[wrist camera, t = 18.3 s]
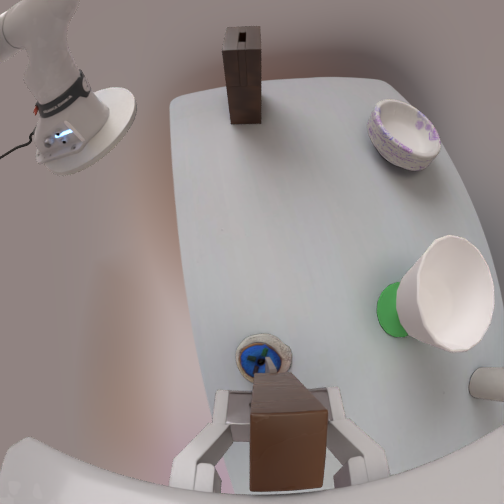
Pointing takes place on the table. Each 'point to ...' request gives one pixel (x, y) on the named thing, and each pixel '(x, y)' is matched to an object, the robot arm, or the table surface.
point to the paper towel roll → (488, 383)
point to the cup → (441, 297)
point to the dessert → (262, 355)
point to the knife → (285, 433)
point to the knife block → (243, 73)
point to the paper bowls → (403, 135)
